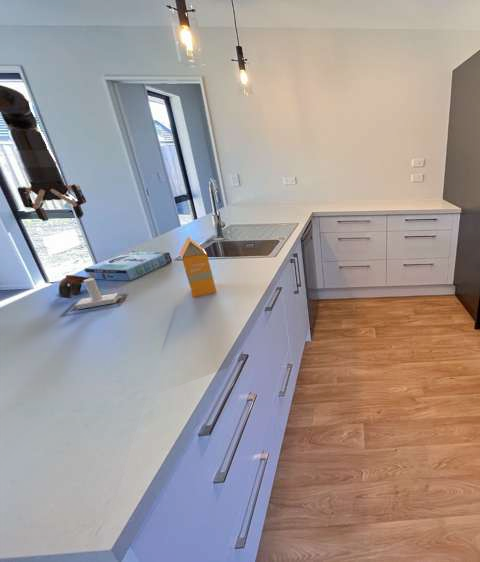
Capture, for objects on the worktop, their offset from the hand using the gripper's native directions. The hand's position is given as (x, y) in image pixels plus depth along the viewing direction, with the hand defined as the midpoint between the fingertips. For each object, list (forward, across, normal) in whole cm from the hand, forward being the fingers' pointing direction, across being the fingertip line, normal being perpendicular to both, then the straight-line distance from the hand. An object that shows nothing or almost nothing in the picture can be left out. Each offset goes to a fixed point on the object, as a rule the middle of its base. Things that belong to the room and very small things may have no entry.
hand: (63, 219), depth 97 cm
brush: (+28, +4, -10) cm, 30 cm away
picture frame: (+28, +3, -11) cm, 30 cm away
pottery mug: (+28, -7, +6) cm, 30 cm away
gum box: (+26, -1, +16) cm, 30 cm away
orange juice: (+28, +35, -13) cm, 47 cm away
